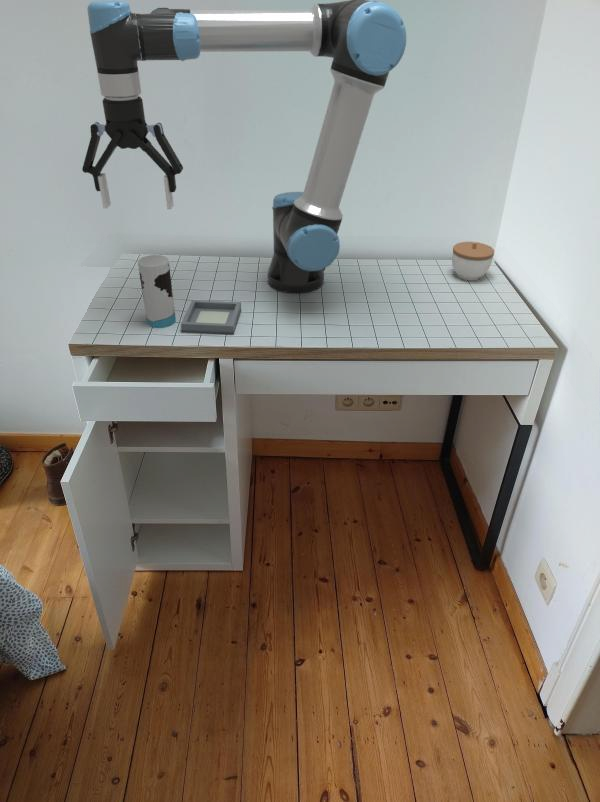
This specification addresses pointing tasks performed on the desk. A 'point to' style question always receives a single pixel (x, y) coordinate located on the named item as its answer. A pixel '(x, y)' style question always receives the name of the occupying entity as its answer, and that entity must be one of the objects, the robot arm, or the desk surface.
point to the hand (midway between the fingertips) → (138, 207)
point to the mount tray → (211, 317)
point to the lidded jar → (471, 259)
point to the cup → (157, 290)
